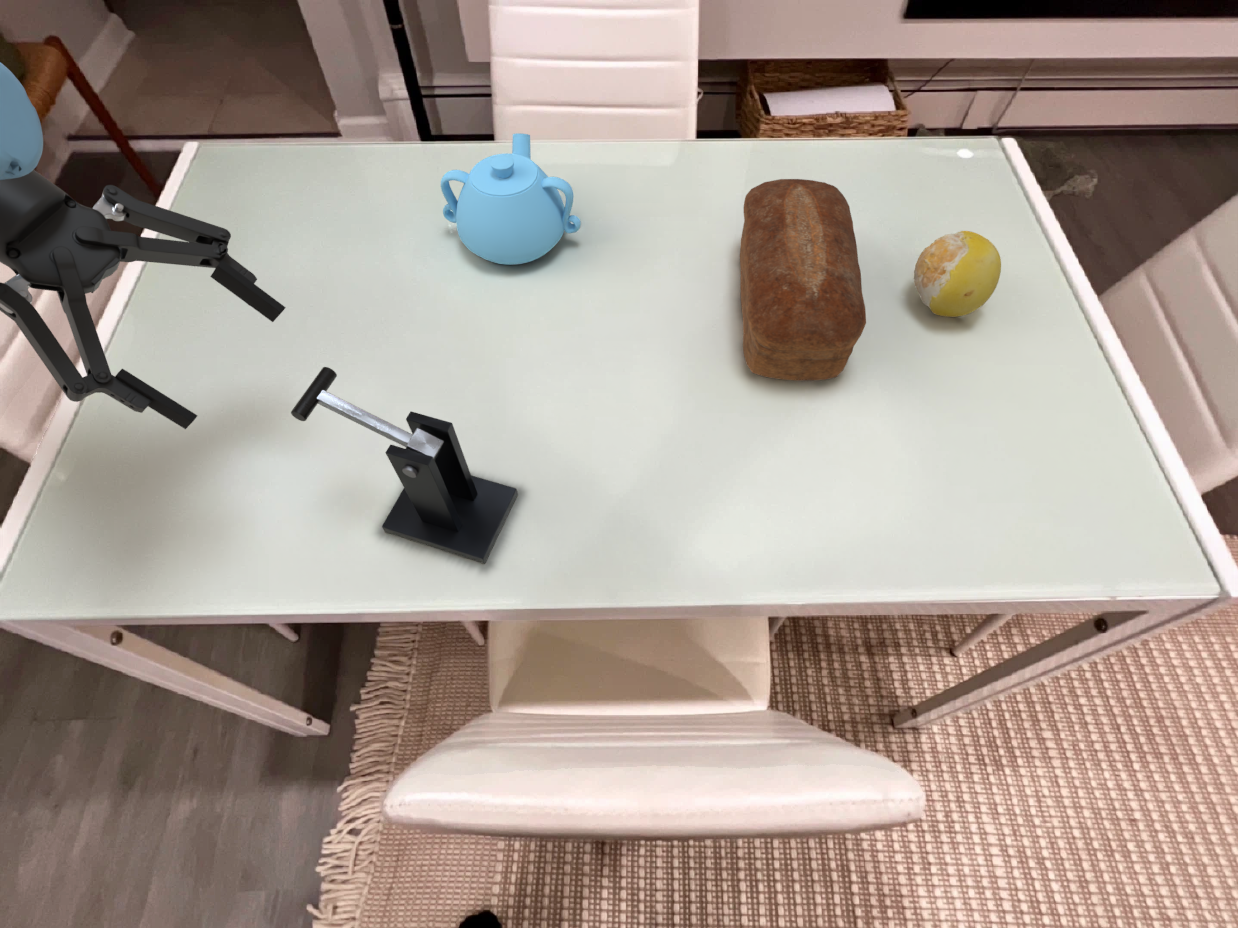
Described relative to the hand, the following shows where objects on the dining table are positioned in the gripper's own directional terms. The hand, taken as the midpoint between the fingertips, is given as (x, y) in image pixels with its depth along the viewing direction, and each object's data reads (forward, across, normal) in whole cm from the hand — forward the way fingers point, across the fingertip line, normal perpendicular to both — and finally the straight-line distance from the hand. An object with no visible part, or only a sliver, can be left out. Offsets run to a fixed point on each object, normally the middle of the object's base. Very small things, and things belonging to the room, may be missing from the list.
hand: (238, 366), depth 65 cm
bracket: (+26, 0, -1) cm, 26 cm away
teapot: (+17, -46, -9) cm, 50 cm away
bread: (+46, -43, +19) cm, 66 cm away
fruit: (+60, -50, +33) cm, 85 cm away
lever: (+12, 0, +5) cm, 13 cm away
